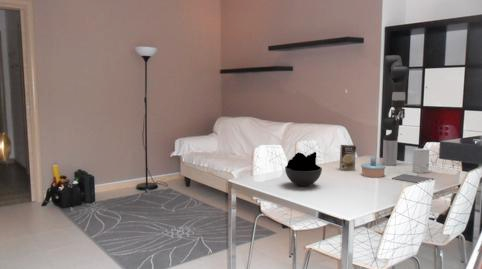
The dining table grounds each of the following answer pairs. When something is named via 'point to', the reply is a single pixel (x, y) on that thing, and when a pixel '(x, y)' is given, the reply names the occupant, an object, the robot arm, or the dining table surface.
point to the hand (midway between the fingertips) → (397, 125)
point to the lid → (373, 165)
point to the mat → (411, 178)
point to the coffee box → (347, 157)
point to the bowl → (372, 172)
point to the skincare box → (420, 160)
